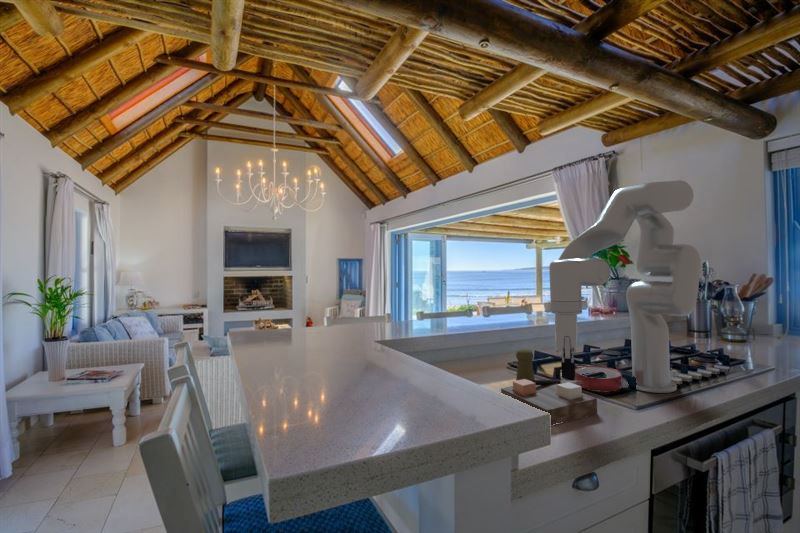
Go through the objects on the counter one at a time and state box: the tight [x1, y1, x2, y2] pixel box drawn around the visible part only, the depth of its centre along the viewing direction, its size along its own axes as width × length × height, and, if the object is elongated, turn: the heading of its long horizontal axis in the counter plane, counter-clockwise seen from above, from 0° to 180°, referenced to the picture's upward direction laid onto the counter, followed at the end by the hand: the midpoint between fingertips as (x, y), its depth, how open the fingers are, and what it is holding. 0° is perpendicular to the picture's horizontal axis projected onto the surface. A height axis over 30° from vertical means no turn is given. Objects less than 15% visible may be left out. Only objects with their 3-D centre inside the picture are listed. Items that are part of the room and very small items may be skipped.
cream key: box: [557, 382, 583, 400], centre depth 103 cm, size 4×4×3 cm
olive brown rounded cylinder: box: [515, 348, 536, 381], centre depth 125 cm, size 6×6×11 cm
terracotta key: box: [512, 379, 536, 396], centre depth 107 cm, size 4×4×3 cm
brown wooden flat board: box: [500, 378, 598, 426], centre depth 105 cm, size 16×18×4 cm
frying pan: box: [532, 365, 623, 391], centre depth 116 cm, size 32×13×6 cm, turn 120°
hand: (568, 377), depth 103 cm, fingers closed
